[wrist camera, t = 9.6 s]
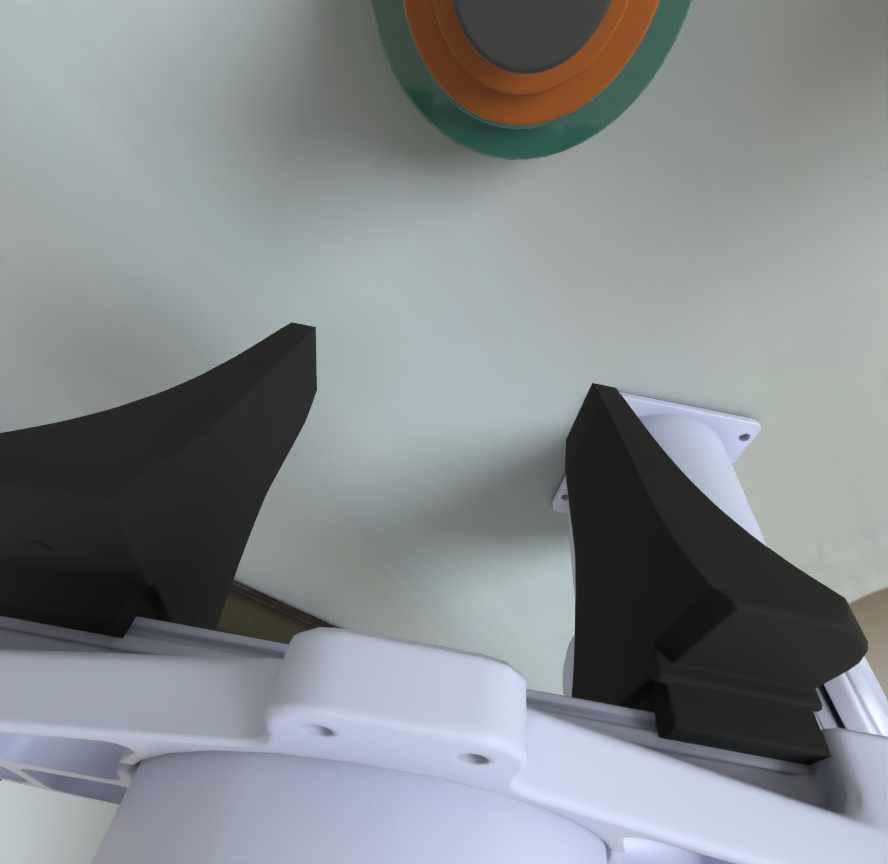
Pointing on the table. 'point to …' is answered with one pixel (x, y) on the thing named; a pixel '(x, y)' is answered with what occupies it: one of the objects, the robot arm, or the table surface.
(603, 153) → the table surface
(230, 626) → the diary
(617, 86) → the green round container
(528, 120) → the amber bottle
